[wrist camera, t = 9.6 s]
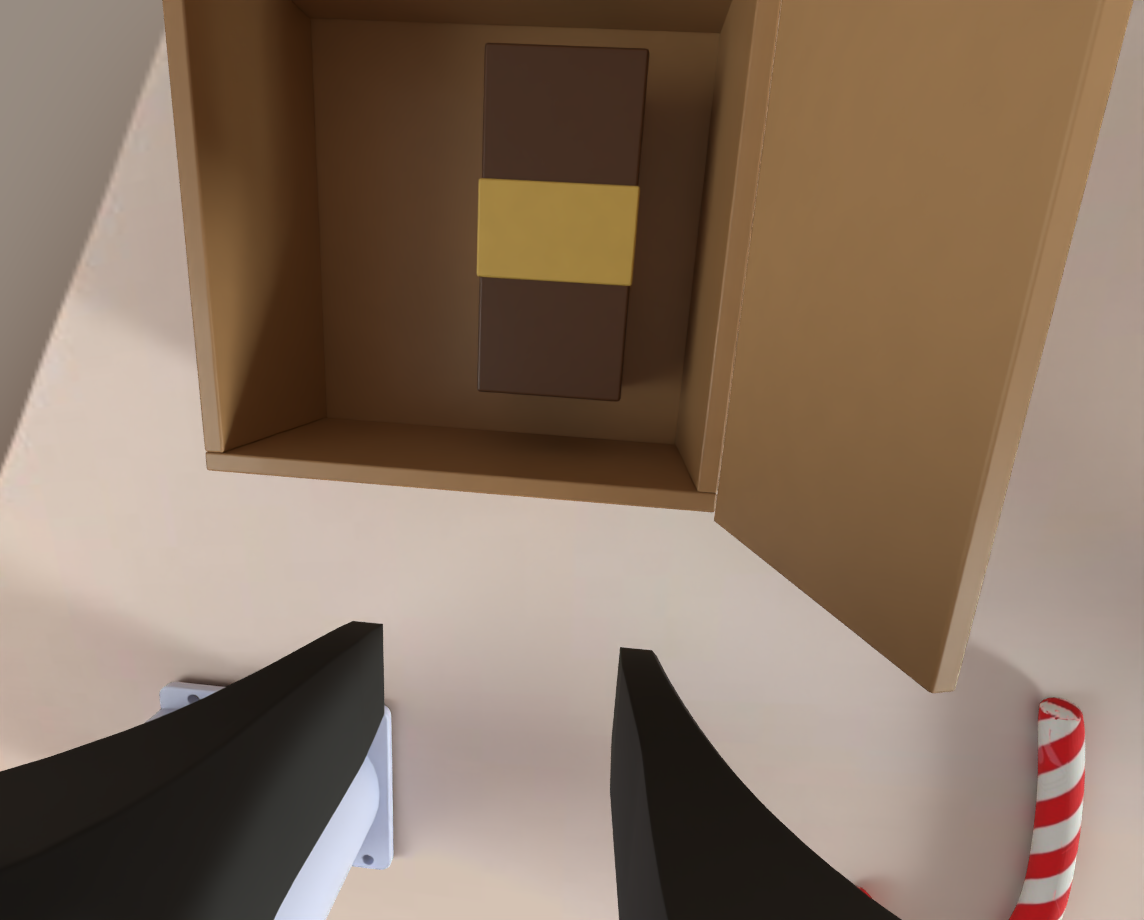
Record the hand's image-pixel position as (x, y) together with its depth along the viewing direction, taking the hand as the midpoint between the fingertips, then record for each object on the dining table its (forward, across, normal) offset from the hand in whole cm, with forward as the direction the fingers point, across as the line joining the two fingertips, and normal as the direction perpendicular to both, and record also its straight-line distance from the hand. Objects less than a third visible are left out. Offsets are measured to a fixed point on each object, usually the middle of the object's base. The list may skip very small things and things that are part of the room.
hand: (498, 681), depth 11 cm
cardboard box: (+10, +2, -9) cm, 14 cm away
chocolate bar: (+9, 0, -9) cm, 13 cm away
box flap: (0, -5, -9) cm, 10 cm away
